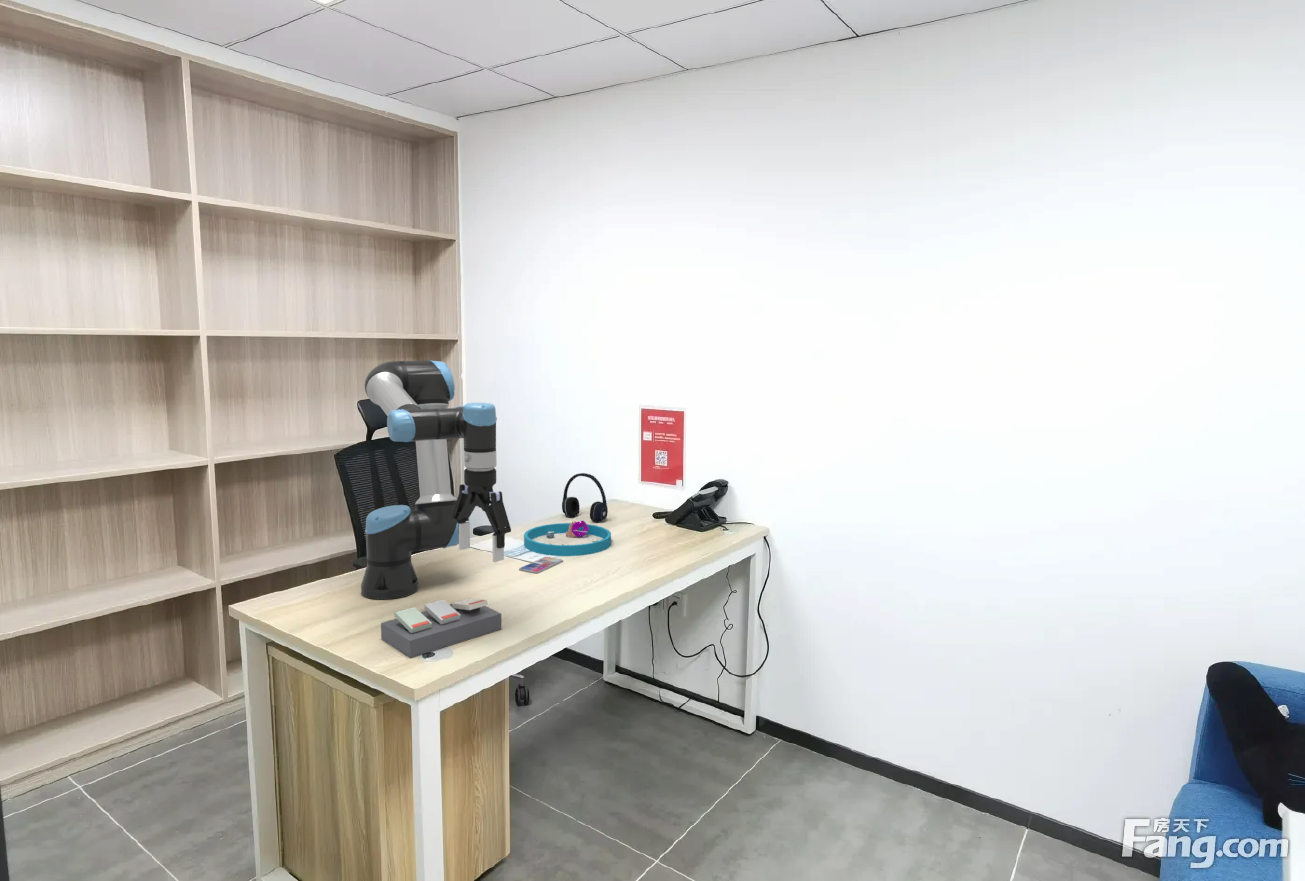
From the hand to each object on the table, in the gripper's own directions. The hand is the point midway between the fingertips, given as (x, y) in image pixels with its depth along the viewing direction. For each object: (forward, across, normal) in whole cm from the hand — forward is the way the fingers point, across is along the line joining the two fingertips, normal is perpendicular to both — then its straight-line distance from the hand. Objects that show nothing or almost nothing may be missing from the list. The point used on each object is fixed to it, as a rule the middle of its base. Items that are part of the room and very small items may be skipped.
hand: (481, 554), depth 179 cm
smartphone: (+20, -28, +43) cm, 55 cm away
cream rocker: (+13, -4, -1) cm, 14 cm away
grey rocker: (+13, -4, -8) cm, 16 cm away
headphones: (+20, -62, +93) cm, 114 cm away
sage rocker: (+13, -4, -16) cm, 21 cm away
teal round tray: (+20, -41, +66) cm, 80 cm away
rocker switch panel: (+19, -6, -8) cm, 22 cm away
